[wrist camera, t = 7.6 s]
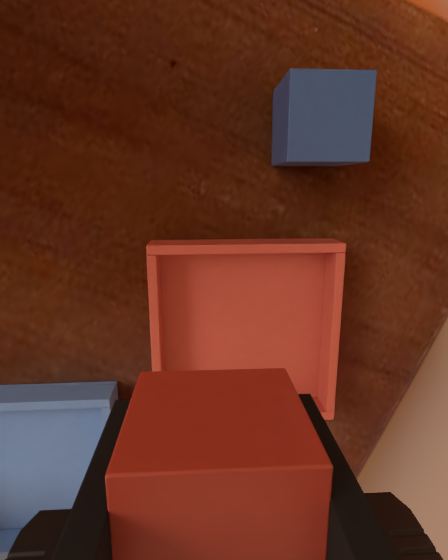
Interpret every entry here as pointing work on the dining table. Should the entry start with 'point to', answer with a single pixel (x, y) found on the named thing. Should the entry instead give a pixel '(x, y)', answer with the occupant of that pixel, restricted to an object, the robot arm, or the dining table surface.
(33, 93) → the dining table surface
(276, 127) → the blue block
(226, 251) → the red tray
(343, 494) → the robot arm
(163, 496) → the red block
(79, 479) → the blue tray
